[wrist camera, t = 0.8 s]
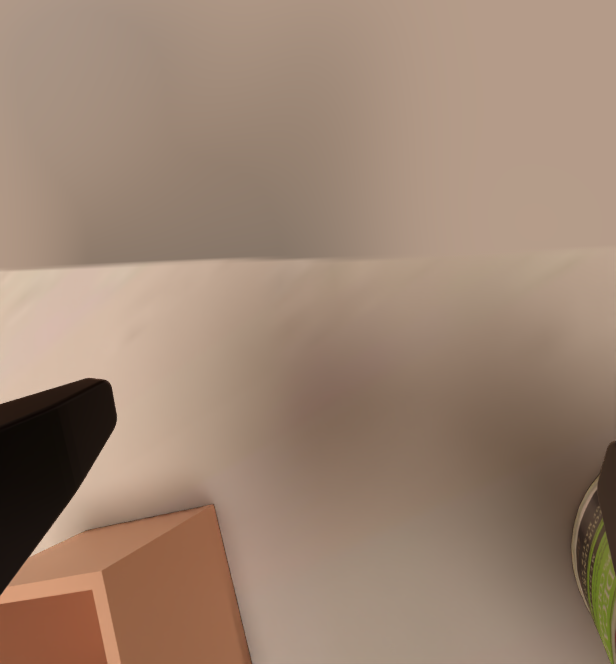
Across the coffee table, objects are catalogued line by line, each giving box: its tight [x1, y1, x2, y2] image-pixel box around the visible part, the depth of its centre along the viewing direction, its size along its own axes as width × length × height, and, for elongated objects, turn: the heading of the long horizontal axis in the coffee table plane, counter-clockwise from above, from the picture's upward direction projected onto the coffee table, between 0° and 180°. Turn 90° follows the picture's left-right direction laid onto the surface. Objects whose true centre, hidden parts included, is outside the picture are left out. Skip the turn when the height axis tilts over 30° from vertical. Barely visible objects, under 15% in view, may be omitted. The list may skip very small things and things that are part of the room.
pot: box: [0, 504, 252, 664], centre depth 23 cm, size 8×8×8 cm
